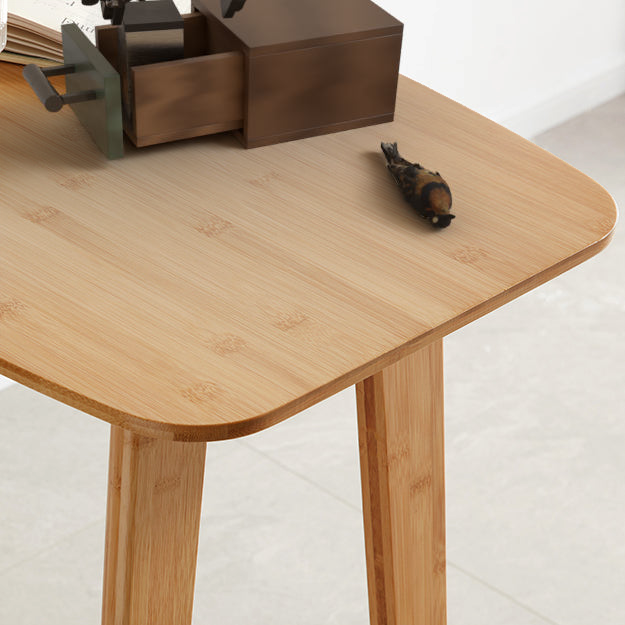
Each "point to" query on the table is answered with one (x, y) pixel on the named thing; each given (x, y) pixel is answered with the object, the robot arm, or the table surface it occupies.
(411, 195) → the bird model
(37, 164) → the table surface
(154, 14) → the steel tin
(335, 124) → the cabinet
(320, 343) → the table surface
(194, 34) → the drawer
